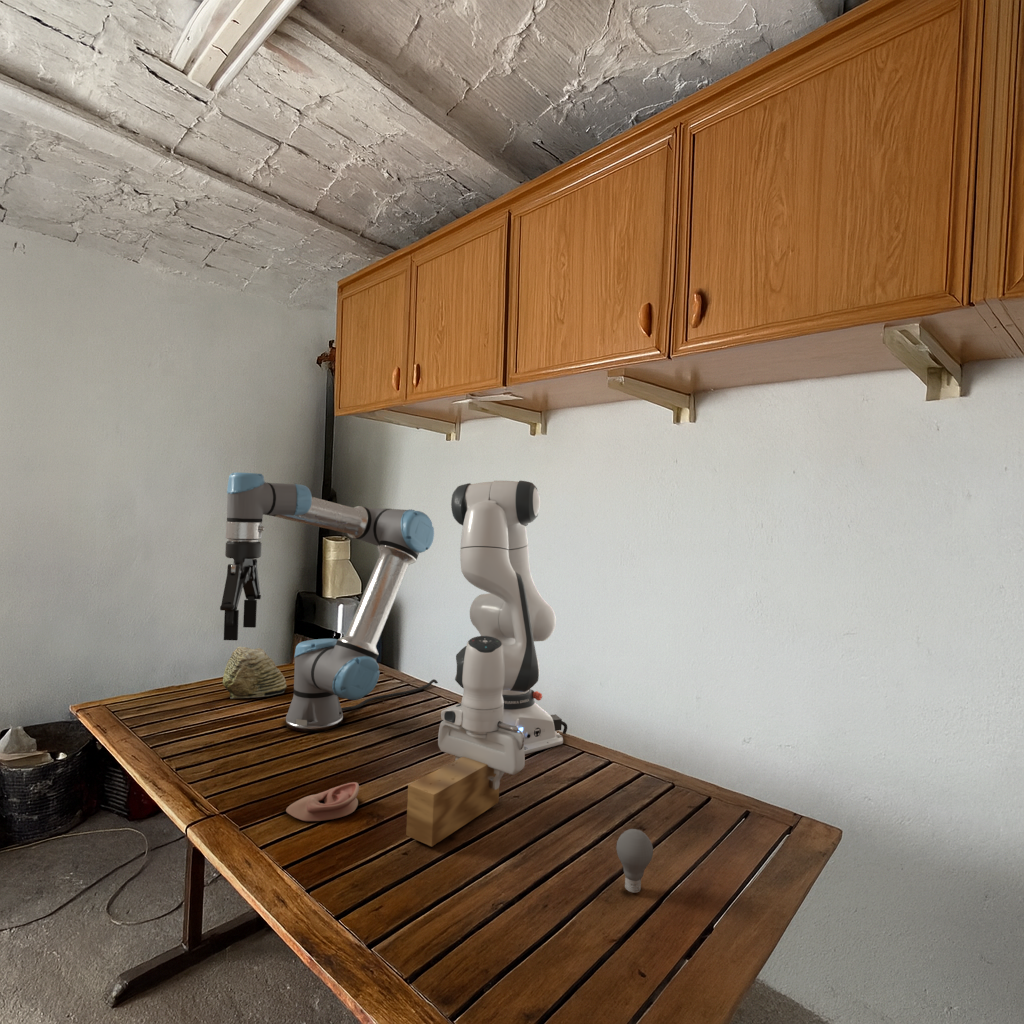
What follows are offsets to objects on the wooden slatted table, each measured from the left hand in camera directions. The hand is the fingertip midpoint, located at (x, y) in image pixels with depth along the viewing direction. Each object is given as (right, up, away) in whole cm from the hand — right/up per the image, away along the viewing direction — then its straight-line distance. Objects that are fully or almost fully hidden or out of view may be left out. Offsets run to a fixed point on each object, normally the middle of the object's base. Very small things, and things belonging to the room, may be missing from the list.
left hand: (240, 633), depth 144 cm
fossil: (-19, -30, +54) cm, 64 cm away
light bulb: (+82, -36, -39) cm, 98 cm away
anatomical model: (+24, -33, -16) cm, 43 cm away
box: (+51, -33, -19) cm, 63 cm away
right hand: (+55, -29, -13) cm, 63 cm away
